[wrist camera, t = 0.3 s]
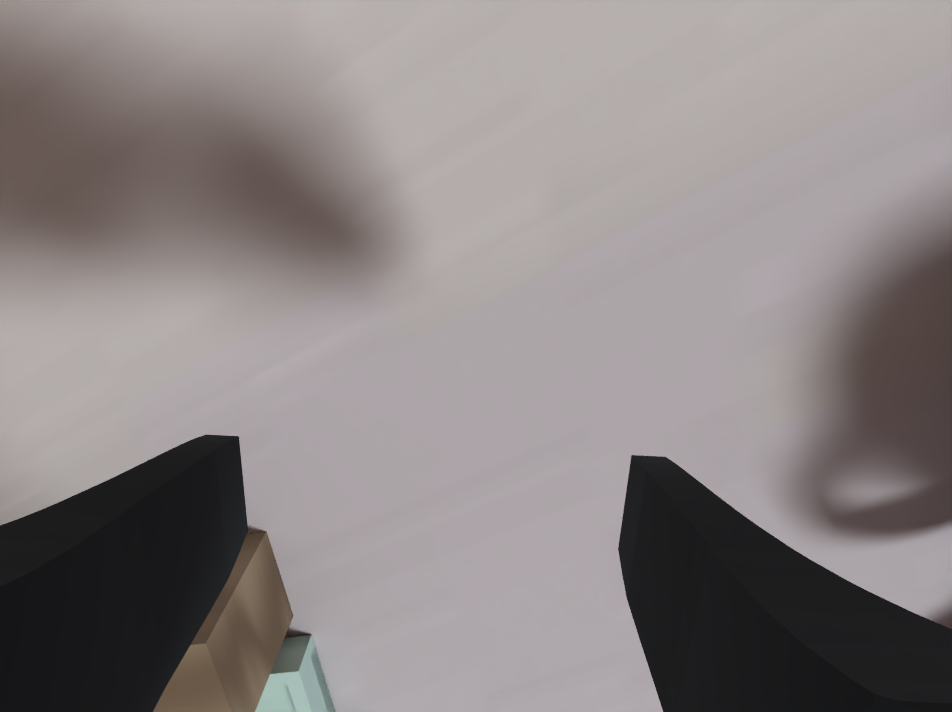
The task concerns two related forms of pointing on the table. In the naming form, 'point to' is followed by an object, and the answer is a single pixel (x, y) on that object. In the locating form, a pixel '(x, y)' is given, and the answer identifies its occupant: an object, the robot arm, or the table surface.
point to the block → (234, 639)
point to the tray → (296, 680)
